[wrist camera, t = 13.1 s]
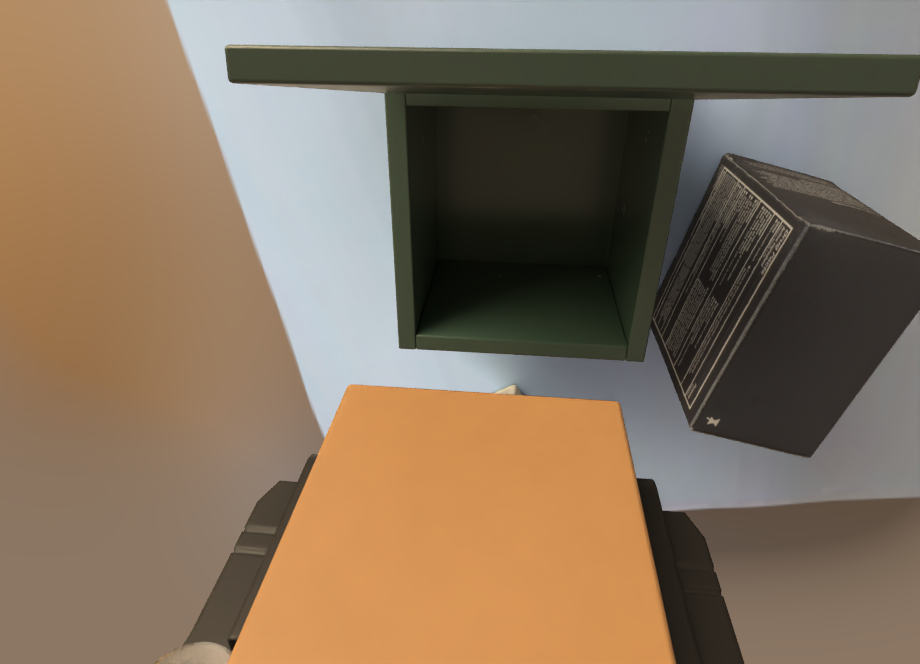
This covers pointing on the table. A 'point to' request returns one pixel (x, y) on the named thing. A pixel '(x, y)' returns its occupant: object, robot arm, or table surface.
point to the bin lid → (575, 72)
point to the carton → (464, 539)
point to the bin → (531, 220)
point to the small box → (781, 305)
